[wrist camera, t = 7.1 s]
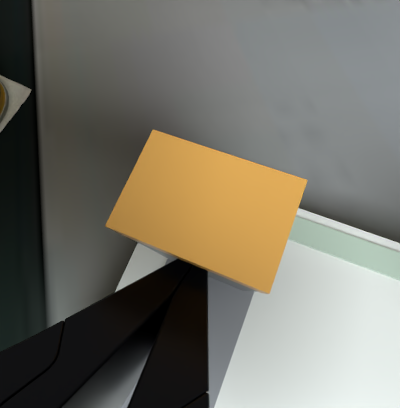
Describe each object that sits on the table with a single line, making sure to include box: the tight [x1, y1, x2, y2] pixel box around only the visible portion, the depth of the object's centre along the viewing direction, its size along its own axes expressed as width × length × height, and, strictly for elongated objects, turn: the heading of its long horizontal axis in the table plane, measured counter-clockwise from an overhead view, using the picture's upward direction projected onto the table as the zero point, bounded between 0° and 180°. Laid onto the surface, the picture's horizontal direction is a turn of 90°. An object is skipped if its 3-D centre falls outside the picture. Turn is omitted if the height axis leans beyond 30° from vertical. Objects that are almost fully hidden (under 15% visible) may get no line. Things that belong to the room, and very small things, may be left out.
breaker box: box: [115, 208, 400, 408], centre depth 13 cm, size 15×23×3 cm, turn 68°
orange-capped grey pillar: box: [105, 130, 307, 294], centre depth 10 cm, size 2×4×8 cm, turn 68°
